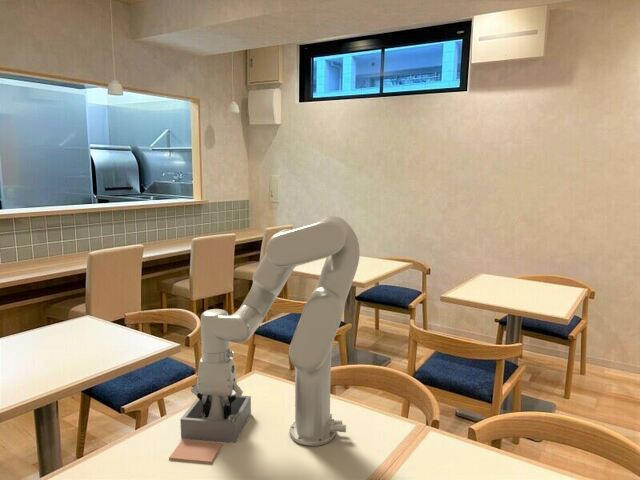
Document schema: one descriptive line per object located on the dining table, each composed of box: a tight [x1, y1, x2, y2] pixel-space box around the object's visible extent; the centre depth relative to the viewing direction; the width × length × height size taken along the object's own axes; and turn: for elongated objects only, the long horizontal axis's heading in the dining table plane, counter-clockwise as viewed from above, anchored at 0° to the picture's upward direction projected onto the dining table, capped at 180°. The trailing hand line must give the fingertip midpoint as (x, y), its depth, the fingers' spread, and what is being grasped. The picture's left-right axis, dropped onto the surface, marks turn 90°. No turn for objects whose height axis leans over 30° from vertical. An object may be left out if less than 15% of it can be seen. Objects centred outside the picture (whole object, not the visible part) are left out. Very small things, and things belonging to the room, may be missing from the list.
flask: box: [206, 395, 231, 421], centre depth 130 cm, size 7×7×10 cm
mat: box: [168, 438, 224, 465], centre depth 119 cm, size 11×8×1 cm
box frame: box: [179, 395, 252, 444], centre depth 131 cm, size 15×15×6 cm
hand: (217, 415), depth 131 cm, fingers closed on flask, 4 cm apart
